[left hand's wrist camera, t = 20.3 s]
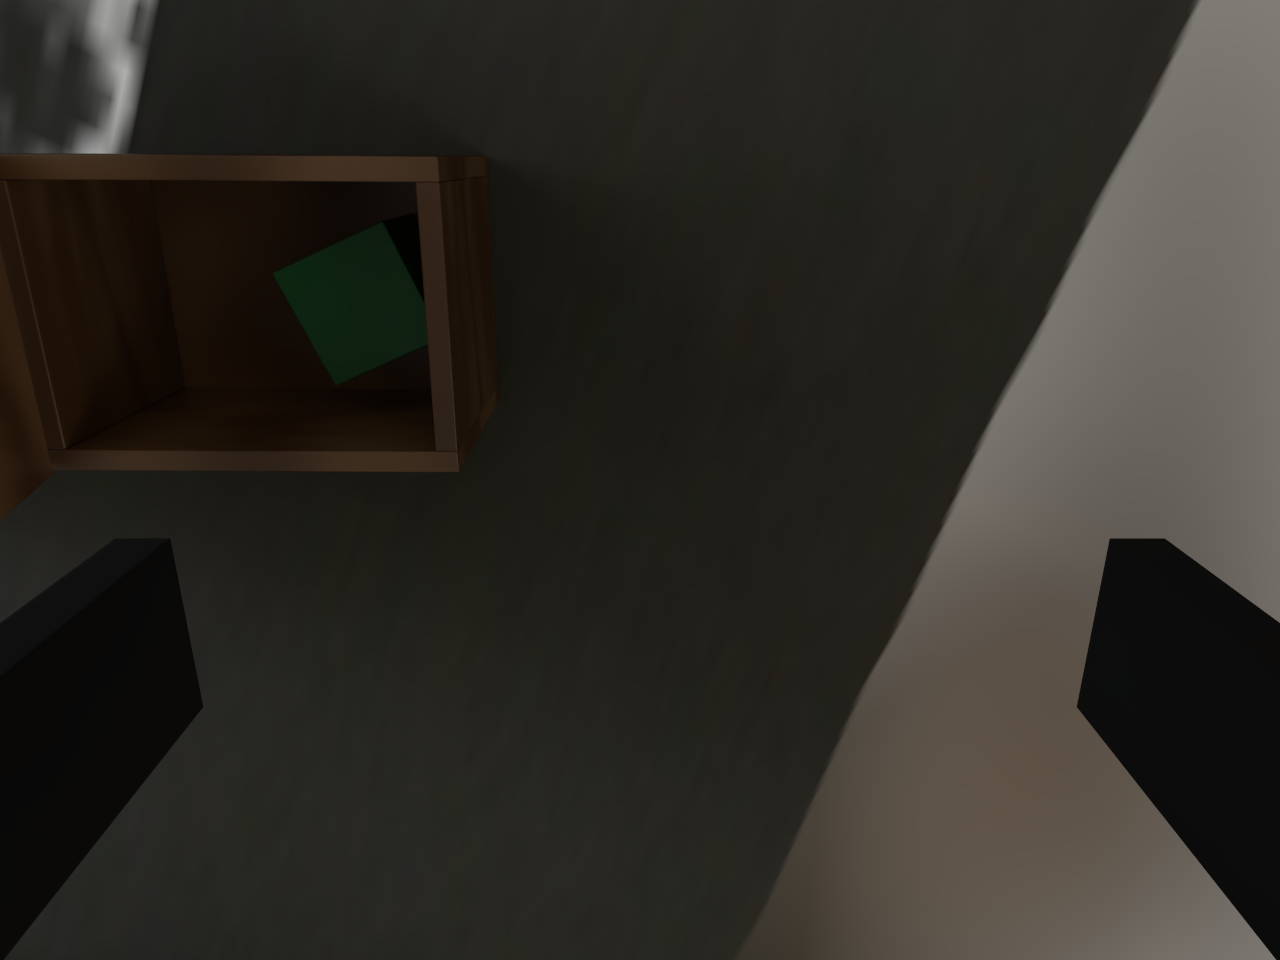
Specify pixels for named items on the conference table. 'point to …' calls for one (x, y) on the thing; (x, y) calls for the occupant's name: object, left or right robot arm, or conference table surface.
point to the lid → (17, 412)
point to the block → (361, 298)
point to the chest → (240, 310)
